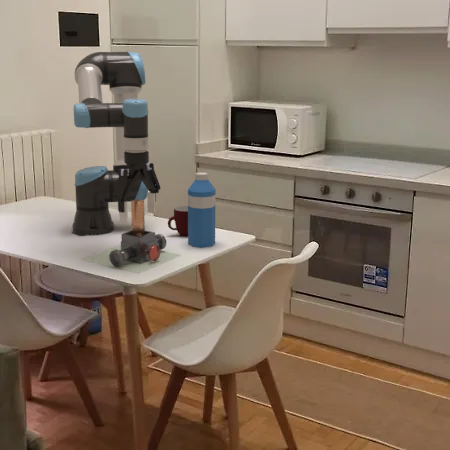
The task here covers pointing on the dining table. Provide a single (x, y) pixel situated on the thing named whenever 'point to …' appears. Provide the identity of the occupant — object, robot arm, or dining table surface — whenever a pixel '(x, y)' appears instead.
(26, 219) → the dining table surface
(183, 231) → the mug
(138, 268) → the mat
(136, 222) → the brown mallet handle
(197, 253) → the dining table surface
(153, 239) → the metal mallet head
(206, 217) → the water bottle
